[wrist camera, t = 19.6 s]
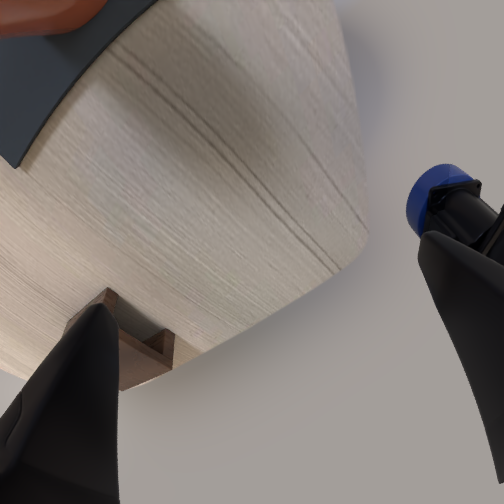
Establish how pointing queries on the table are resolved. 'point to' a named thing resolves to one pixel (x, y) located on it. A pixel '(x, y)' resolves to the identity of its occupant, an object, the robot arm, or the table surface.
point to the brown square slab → (136, 349)
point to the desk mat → (51, 72)
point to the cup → (45, 16)
